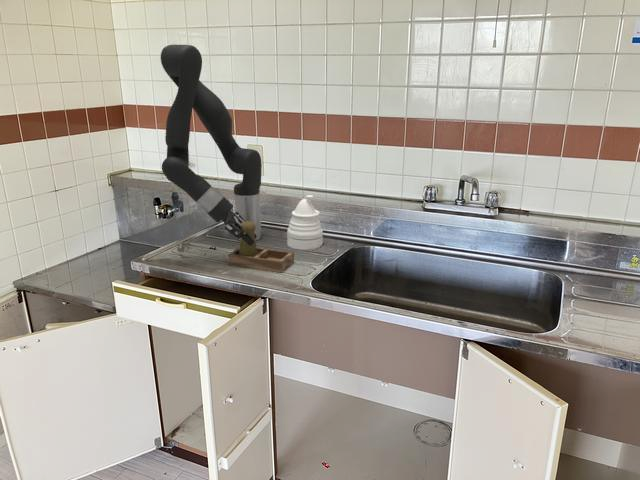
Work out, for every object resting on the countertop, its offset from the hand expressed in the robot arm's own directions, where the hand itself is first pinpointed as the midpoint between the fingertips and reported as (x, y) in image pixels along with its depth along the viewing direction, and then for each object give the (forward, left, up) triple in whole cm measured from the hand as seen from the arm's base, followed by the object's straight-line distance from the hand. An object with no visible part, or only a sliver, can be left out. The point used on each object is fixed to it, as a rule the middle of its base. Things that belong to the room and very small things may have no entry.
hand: (253, 240), depth 165 cm
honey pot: (-23, +8, -8) cm, 26 cm away
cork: (+1, -2, -5) cm, 5 cm away
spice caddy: (+1, +3, -7) cm, 8 cm away
